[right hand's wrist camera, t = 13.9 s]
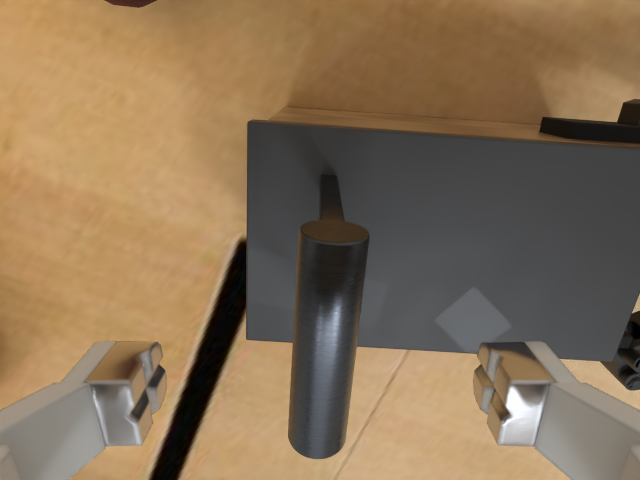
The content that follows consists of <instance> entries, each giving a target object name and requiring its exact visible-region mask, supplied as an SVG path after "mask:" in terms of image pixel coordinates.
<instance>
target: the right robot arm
mask: <svg viewBox="0 0 640 480" xmlns="http://www.w3.org/2000/svg"><path fill="white" fill-rule="evenodd" d="M162 357H163V353H162V349H161V345H160V344H159V343H158V342H134V341H119V342H118V341H99V342H96V343H94V344H93V345H92V347H91V348H90V349H89V350H88V351H87V352H86V353H85V355H84V356H83V357H82V358H81V359H80V360H79V362H78V363H77V364H76V365H75V366H74V367H73V368H72V370H71V371H70V372H69V373H68V374H67V375H66V377H65V378H64V379H63V380H62V381H61V382H60V383H53V384H51V385H49V386H47V387H45V388H43V389H41V390H39V391H37V392H35V393H33V394H31V395H29V396H27V397H25V398H23V399H21V400H19V401H17V402H15V403H13V404H11V405H9V406H8V407H6V408H4V409H2V410H0V480H69V479H70V478H71V477H72V476H73V475H75V474H76V473H77V472H78V471H79V470H80V469H82V468H83V467H84V466H85V465H86V464H88V463H89V462H90V461H91V460H92V459H93V458H95V457H96V456H97V455H98V454H99V453H100V452H102V451H103V450H104V449H105V446H135V445H143V442H144V440H145V438H146V436H147V434H148V432H149V430H150V428H151V426H152V424H153V420H152V414H154V413H155V412H156V411H158V410H159V409H160V408H161V406H162V403H163V401H164V398H165V393H166V389H167V378H166V371H165V370H164V369H163V368H162V367H161V366H160V365H159V363H160V361H161V359H162ZM477 357H478V359H479V361H480V363H481V365H480V366H479V367H478V368H477V369H476V370H475V371H474V379H473V386H474V394H475V398H476V401H477V403H478V406H479V408H480V409H481V410H482V411H484V412H485V413H486V414H488V420H487V424H488V426H489V428H490V430H491V432H492V434H493V436H494V438H495V440H496V442H497V444H498V445H504V446H535V449H536V450H537V451H539V452H540V453H541V454H542V455H543V456H544V457H546V458H547V459H548V460H549V461H550V462H551V463H553V464H554V465H555V466H556V467H557V468H559V469H560V470H561V471H562V472H563V473H564V474H566V475H567V476H568V477H569V478H570V479H571V480H640V410H638V409H636V408H634V407H632V406H630V405H628V404H627V403H625V402H623V401H621V400H619V399H617V398H615V397H613V396H611V395H609V394H607V393H605V392H603V391H601V390H599V389H597V388H595V387H593V386H591V385H589V384H587V383H580V382H579V381H578V380H577V379H576V378H575V377H574V375H573V374H572V373H571V372H570V371H569V370H568V368H567V367H566V366H565V365H564V364H563V363H562V362H561V360H560V359H559V358H558V357H557V356H556V355H555V353H554V352H553V351H552V350H551V349H550V348H549V347H548V345H547V344H546V343H544V342H542V341H521V342H481V344H480V346H479V348H478V353H477Z"/></svg>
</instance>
